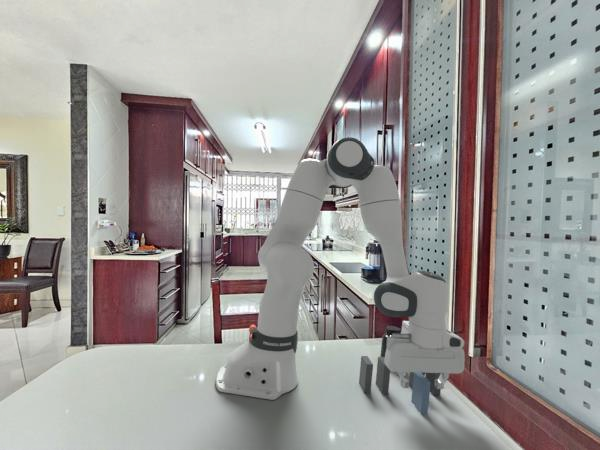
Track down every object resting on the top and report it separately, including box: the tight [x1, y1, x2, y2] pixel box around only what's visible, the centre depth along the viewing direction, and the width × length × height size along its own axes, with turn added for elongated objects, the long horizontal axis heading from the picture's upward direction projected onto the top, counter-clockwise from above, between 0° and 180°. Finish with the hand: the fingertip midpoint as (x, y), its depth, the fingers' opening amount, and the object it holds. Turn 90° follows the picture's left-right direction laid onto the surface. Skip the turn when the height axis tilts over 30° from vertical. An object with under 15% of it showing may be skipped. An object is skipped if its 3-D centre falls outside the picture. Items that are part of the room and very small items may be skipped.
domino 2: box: [375, 356, 391, 395], centre depth 83 cm, size 2×5×8 cm, turn 5°
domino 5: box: [425, 373, 442, 397], centre depth 84 cm, size 2×5×8 cm, turn 5°
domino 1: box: [358, 355, 374, 394], centre depth 82 cm, size 2×5×8 cm, turn 5°
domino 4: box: [410, 372, 431, 415], centre depth 75 cm, size 2×5×8 cm, turn 5°
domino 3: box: [408, 372, 426, 390], centre depth 83 cm, size 2×5×8 cm, turn 5°
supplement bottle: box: [379, 325, 402, 357], centre depth 99 cm, size 7×7×12 cm
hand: (421, 387), depth 76 cm, fingers open, 8 cm apart
